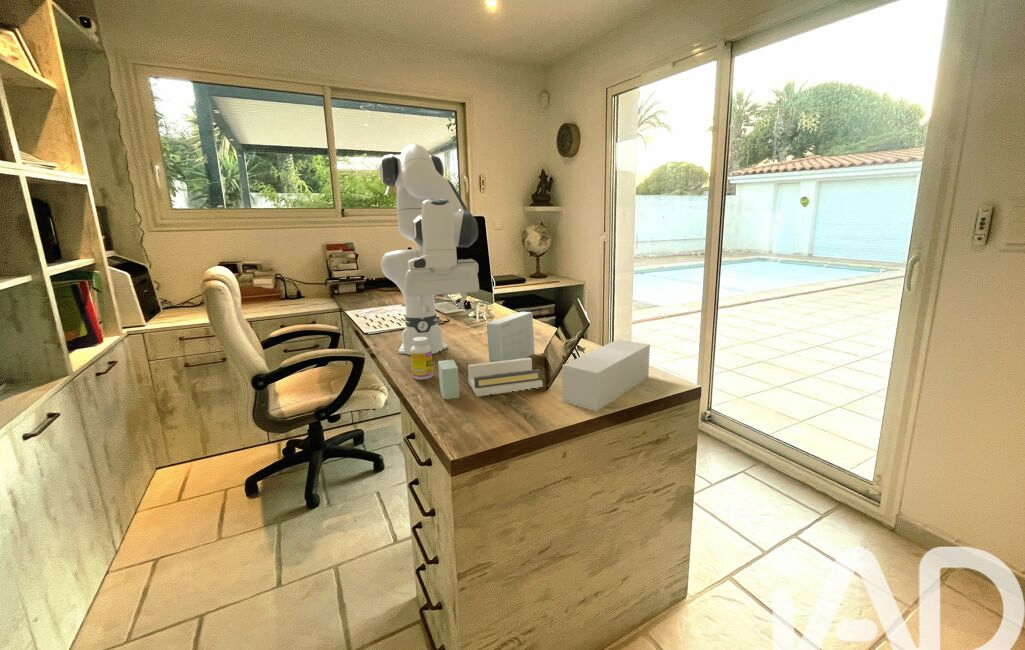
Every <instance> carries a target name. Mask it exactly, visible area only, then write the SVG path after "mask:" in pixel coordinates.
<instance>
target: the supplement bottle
mask: <svg viewBox="0 0 1025 650" xmlns="http://www.w3.org/2000/svg"><path fill="white" fill-rule="evenodd" d="M427 343H428V338H427V337H416V338H414V339H413V344H414V346H413V347H412V348H411V350H410V351H411V355H410V361H411V375H412V378H413V379H414V380H418V381H421V380H423V381H424V380H429V379H431V378H432V377H434V366H433V354H432V349H431V347H430V346H429V345H428V344H427Z"/></svg>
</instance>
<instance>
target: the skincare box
mask: <svg viewBox="0 0 1025 650" xmlns="http://www.w3.org/2000/svg"><path fill="white" fill-rule="evenodd" d="M533 318H534V317H533V312H531V311H519V312H517V313H513V314H511V315H508V316H504V317H501V318H498V319H495V320H493V321H489V322H486V333H487V343H488V344H487V345H488V360H489V361H488V362H497V361H505V360H514V359H523V358H530V357H531V356H533V355H535V342H534V341H535V339H534V337H535V336H534V335H535V334H534V322H533V321H534V319H533Z"/></svg>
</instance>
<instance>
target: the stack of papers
mask: <svg viewBox="0 0 1025 650" xmlns="http://www.w3.org/2000/svg"><path fill="white" fill-rule="evenodd" d="M650 347H651V344H649V343H648V344H647V343H642V342H638V341H630V340H624V339H617V340H614V341H612V342H609V343H607V344H605V345H603V346H601V347H599V348H596V349H595V350H594V349H593V350H592V351H590V352H588V353H586V354H585V353H584V354H583V355H581V356H579V357H577V359H574V358H573V359H574V360H573V359H571V360H570V361H568V363H566V362H565V363H566V364H565V363H564V364H562V365H561V366H562V368H561V371H562V377H561V380H562V381H561V382H562V387H561V389H562V390H561V392H562V393H561V396H562V397H561V398H562V399H561V401H562V402H563V401H564V402H563V403H566V402H567V403H566V404H569V403H571V405H574V406H576V405H577V406H576V407H581V408H584V409H586V410H590V411H594V412H598V411H599V410H601V409H602V408H604V407H605V406H607V405H608V404H610V403H612V402H613V401H615V400H616V399H617V398H619V397H620V396H622V395H624V394H625V393H626V392H628V391H629V390H631V389H632V388H634V387H635V386H637V385H639V384H640V383H641V382H643V381H644V380H646V379H647V378H649V373H650V372H649V371H650V353H651V352H650V349H651V348H650ZM636 384H637V385H636ZM633 386H634V387H633ZM630 388H631V389H630ZM615 398H616V399H615Z"/></svg>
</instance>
